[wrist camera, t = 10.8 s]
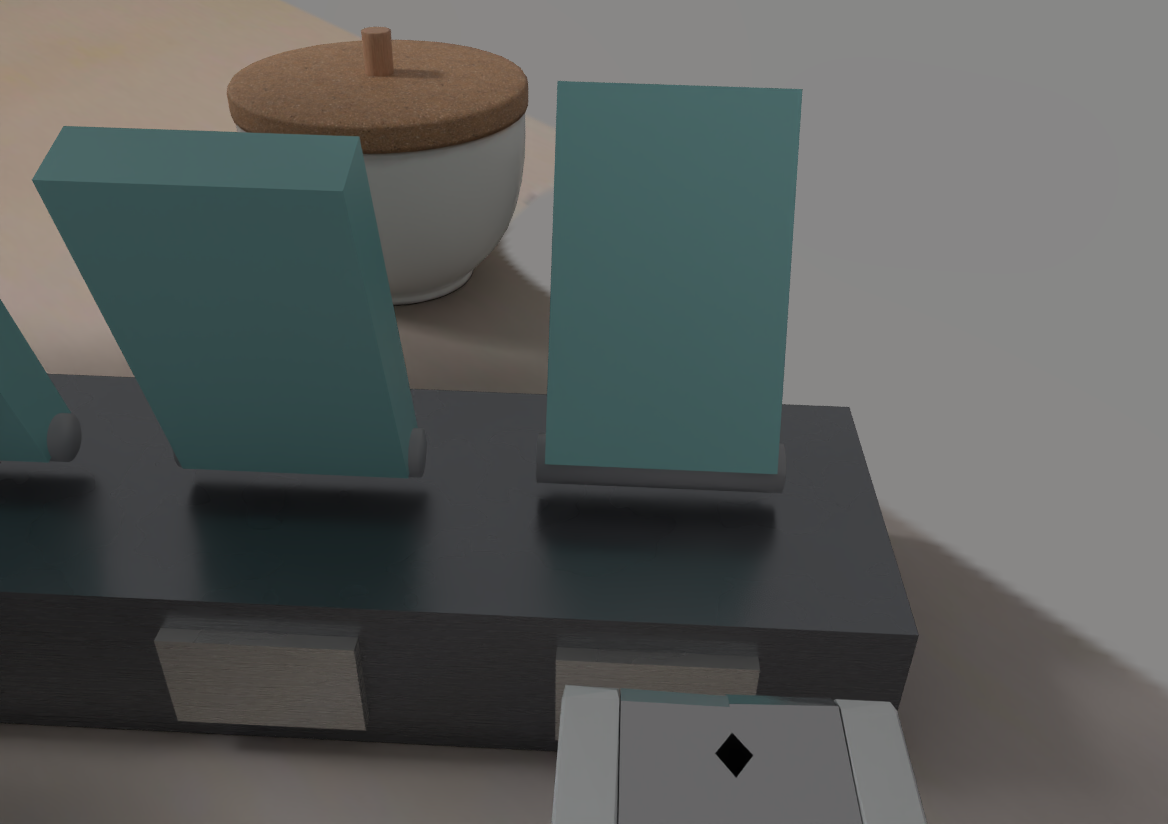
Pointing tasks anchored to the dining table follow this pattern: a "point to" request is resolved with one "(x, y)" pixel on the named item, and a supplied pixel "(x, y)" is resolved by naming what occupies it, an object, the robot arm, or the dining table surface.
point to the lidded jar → (407, 142)
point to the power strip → (428, 583)
